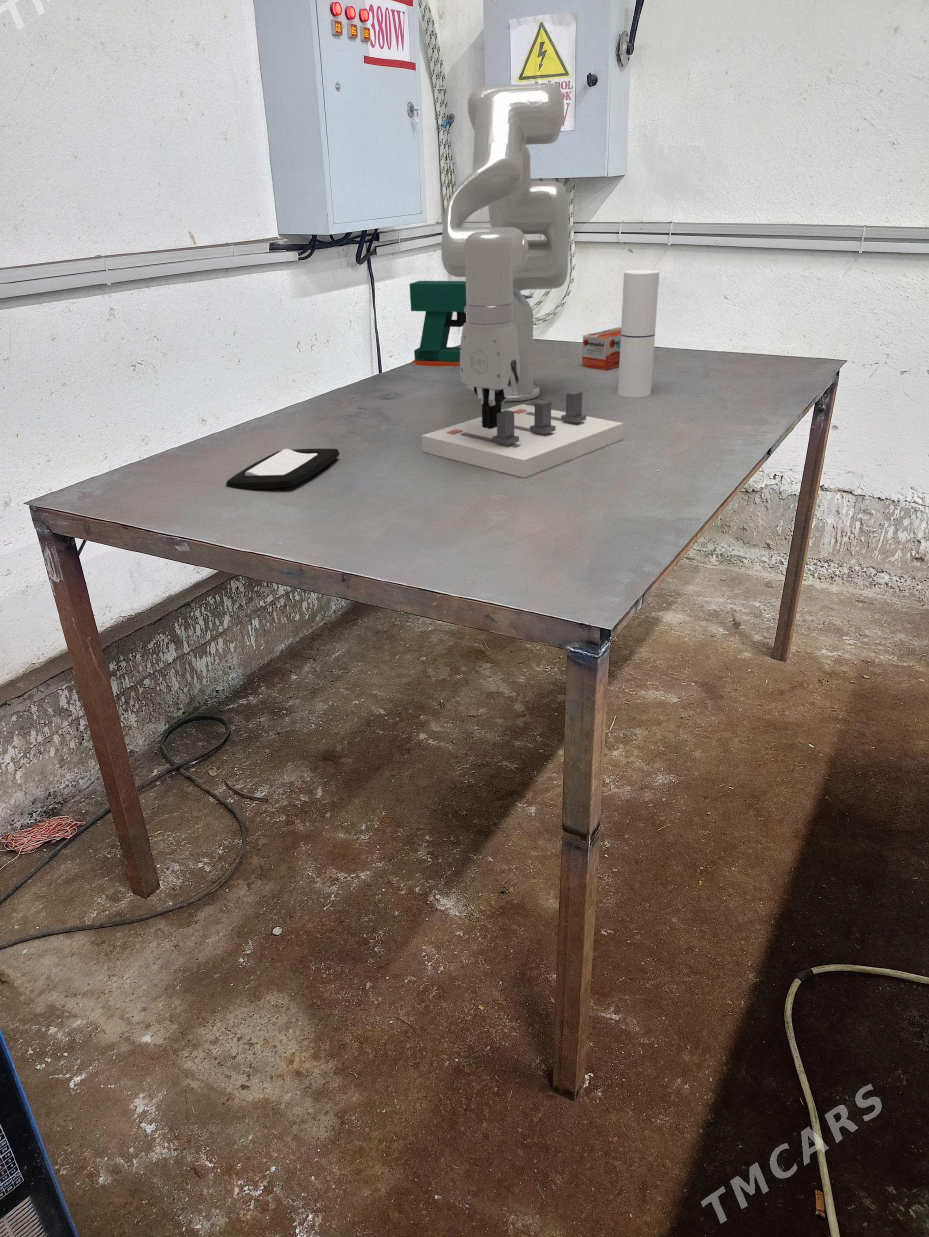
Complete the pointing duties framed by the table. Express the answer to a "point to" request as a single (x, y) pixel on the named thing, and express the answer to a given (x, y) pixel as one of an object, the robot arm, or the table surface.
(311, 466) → the light switch
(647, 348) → the cylindrical container
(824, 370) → the table surface
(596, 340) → the medicine box
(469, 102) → the robot arm
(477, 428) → the breaker panel
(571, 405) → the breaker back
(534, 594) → the table surface
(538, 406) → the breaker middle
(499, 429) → the breaker
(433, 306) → the power tool
